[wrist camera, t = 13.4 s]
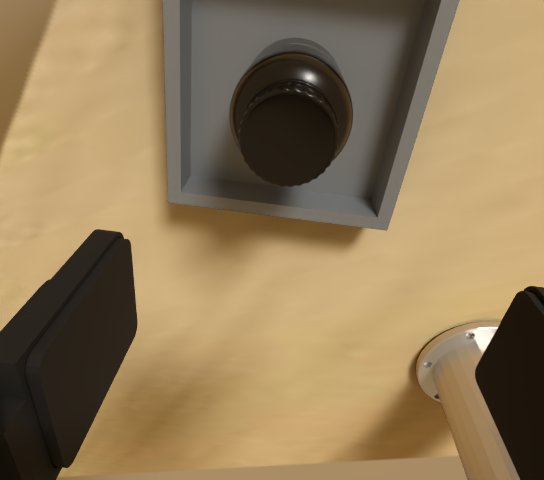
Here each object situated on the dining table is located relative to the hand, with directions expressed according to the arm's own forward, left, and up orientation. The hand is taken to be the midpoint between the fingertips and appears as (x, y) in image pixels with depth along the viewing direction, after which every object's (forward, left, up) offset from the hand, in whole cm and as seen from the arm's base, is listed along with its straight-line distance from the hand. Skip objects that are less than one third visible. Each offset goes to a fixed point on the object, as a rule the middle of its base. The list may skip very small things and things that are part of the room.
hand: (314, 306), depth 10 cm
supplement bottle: (+1, 0, -23) cm, 23 cm away
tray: (+1, -1, -24) cm, 24 cm away
